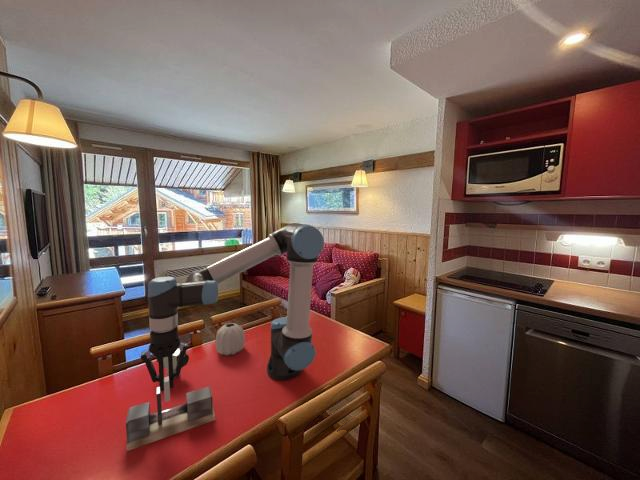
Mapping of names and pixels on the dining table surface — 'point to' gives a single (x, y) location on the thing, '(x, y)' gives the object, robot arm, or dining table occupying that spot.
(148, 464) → the dining table surface
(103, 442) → the dining table surface
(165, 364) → the pneumatic valve
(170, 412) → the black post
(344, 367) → the dining table surface
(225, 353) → the vase
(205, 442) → the dining table surface
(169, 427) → the base
